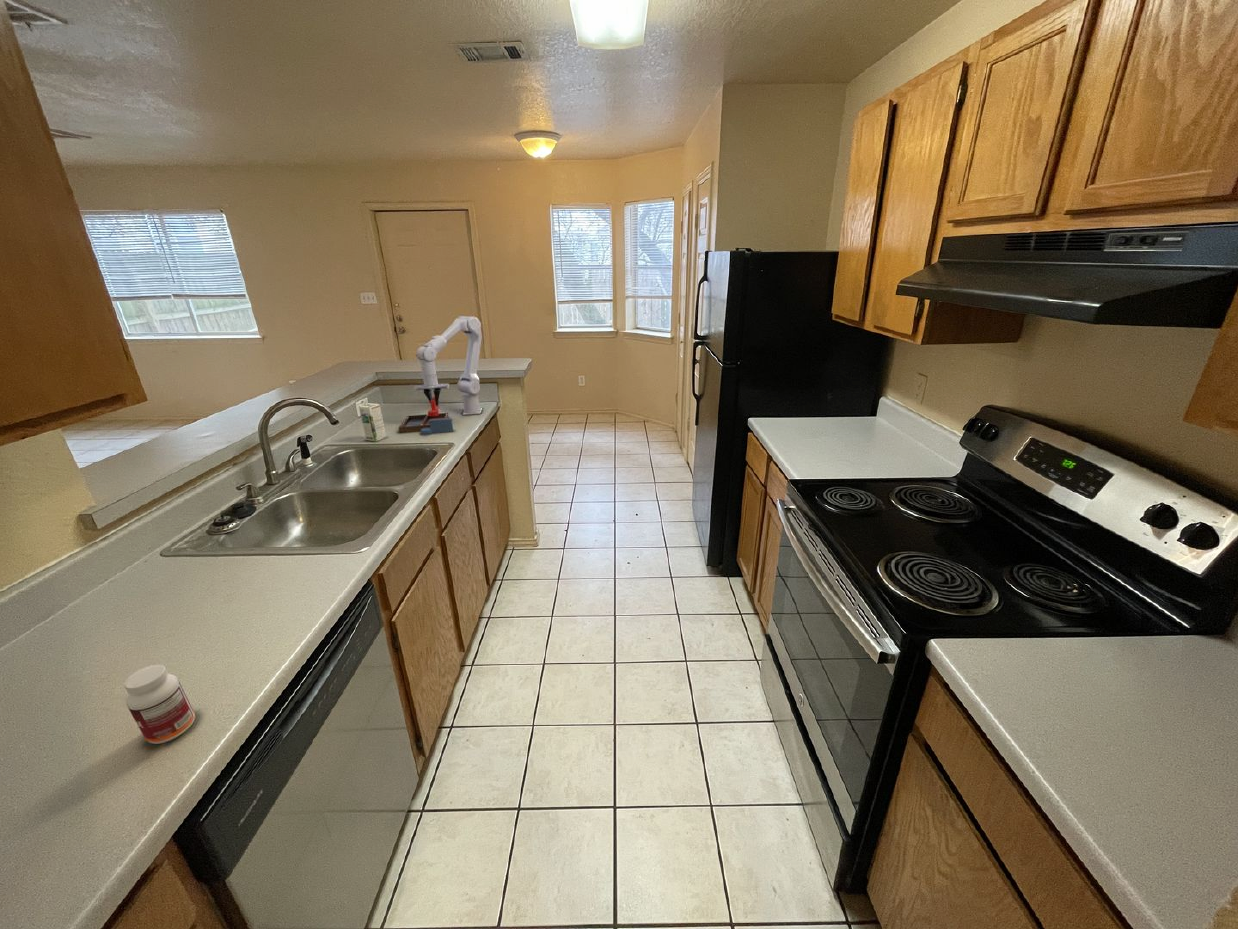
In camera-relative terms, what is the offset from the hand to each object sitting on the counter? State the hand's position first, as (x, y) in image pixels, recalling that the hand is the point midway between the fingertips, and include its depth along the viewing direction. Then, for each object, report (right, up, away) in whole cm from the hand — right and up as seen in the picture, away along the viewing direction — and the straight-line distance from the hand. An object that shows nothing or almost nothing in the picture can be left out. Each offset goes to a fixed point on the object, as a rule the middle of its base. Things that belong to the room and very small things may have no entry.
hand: (434, 405), depth 224 cm
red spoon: (0, -3, -1) cm, 3 cm away
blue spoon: (+5, -13, -10) cm, 17 cm away
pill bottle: (+11, -68, -144) cm, 160 cm away
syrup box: (-18, -16, -15) cm, 29 cm away
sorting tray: (-4, -9, 0) cm, 10 cm away
